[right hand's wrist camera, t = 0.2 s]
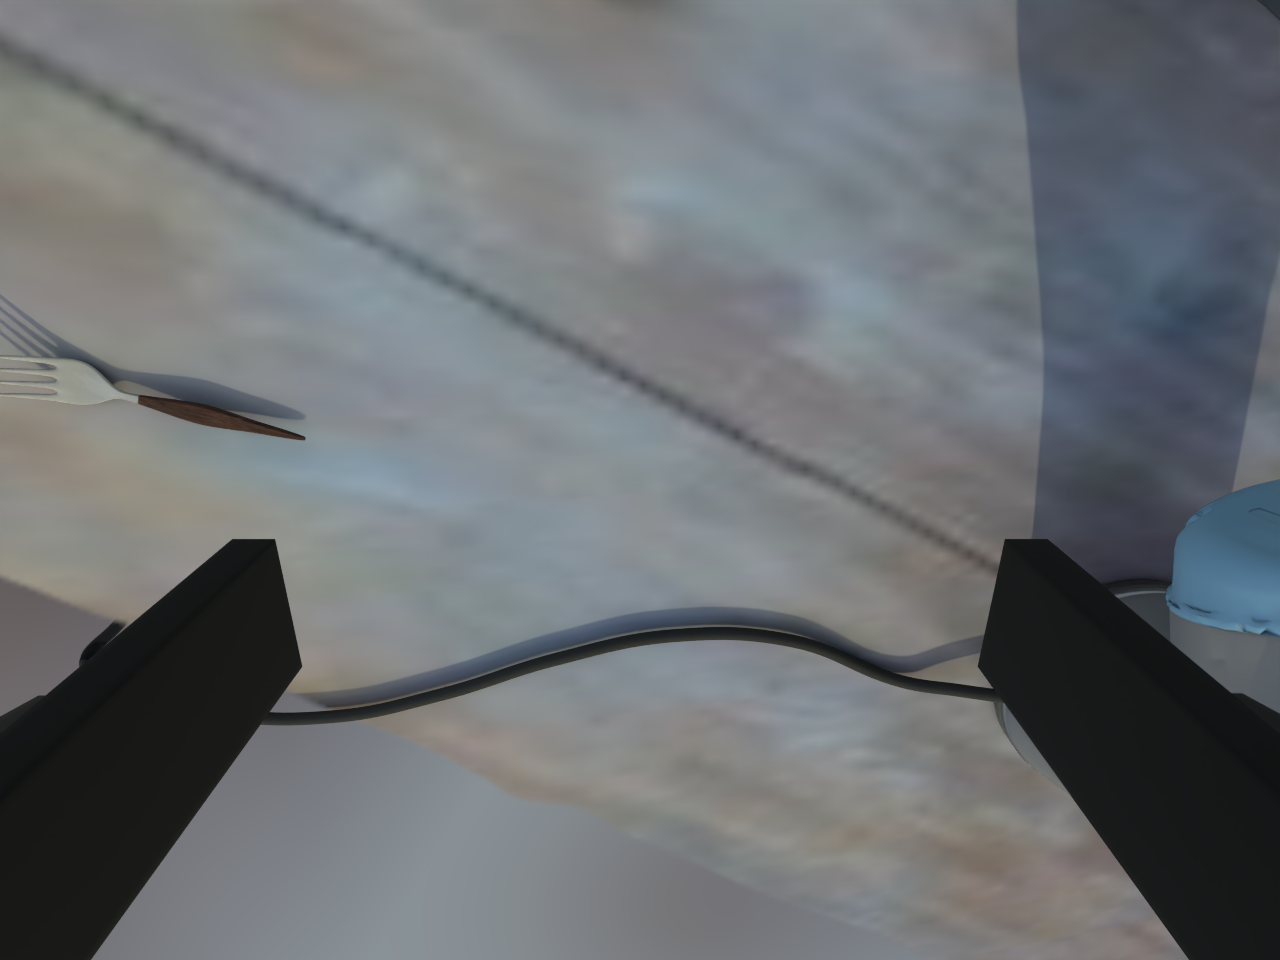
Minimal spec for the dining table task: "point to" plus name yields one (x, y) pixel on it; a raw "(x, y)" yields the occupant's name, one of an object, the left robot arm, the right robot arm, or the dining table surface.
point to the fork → (126, 396)
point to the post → (1272, 6)
